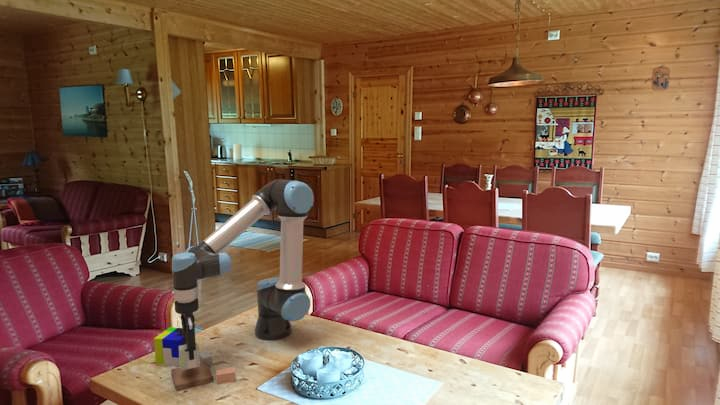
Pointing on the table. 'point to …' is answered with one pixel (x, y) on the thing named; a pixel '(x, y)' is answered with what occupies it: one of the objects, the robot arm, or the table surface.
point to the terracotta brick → (226, 375)
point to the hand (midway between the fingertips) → (190, 364)
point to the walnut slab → (192, 376)
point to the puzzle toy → (168, 346)
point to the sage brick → (184, 356)
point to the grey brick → (206, 357)
